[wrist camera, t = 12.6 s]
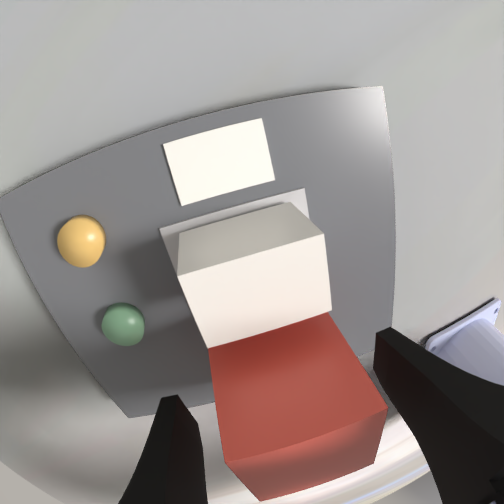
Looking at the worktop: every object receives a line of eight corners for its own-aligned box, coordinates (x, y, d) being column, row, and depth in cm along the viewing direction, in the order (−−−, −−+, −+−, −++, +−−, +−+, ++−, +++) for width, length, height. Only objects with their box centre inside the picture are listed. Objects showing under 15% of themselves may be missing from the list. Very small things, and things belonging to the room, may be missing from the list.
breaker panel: (376, 325, 16) (395, 350, 14) (130, 396, 15) (127, 427, 13) (361, 87, 10) (392, 85, 8) (14, 189, 9) (-14, 205, 7)
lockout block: (317, 353, 13) (373, 463, 8) (232, 380, 13) (260, 501, 8) (308, 282, 11) (388, 407, 6) (204, 313, 11) (225, 462, 6)
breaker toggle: (301, 266, 11) (332, 310, 8) (201, 295, 11) (207, 348, 8) (290, 201, 10) (324, 233, 7) (179, 233, 9) (177, 276, 7)
